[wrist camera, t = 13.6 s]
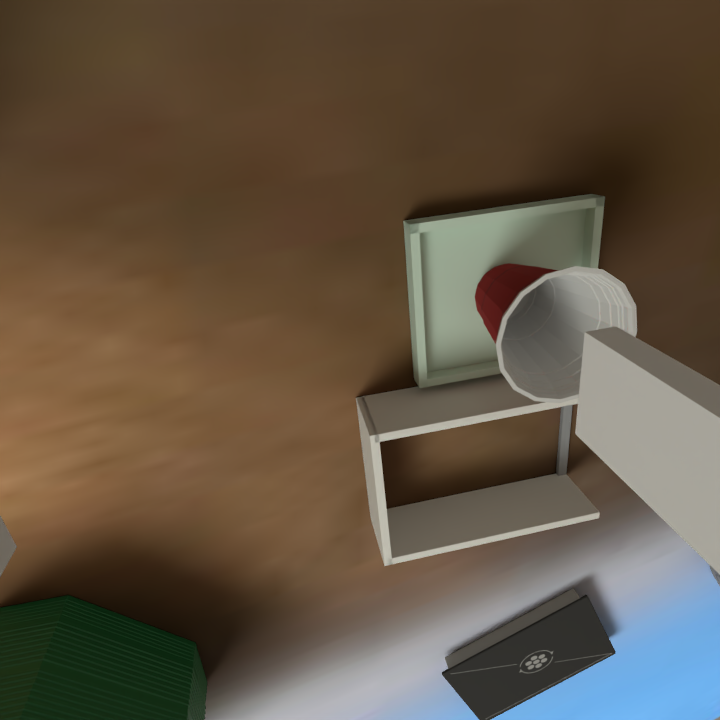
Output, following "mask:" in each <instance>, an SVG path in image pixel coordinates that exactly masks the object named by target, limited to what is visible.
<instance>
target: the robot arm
mask: <svg viewBox="0 0 720 720" xmlns="http://www.w3.org/2000/svg"><path fill="white" fill-rule="evenodd" d="M575 434H576V435H577V436H578V437H579V438H580V439H581V440H582V441H583V442H584V443H585V444H586V445H587V446H588V447H589V448H590V449H591V450H592V451H593V452H594V453H595V454H597V455H598V456H599V457H600V458H601V459H602V460H603V461H604V462H605V463H606V464H607V465H608V466H609V467H610V468H611V469H612V470H613V471H614V472H615V473H616V474H617V475H618V476H619V477H620V478H621V479H622V480H623V481H624V482H625V483H626V484H627V485H628V486H629V487H630V488H631V489H632V490H633V491H634V492H635V493H637V494H638V495H639V496H640V497H641V498H642V499H643V500H644V501H645V502H646V503H647V504H648V505H649V506H650V507H651V508H652V509H653V510H654V511H655V512H656V513H657V514H658V515H659V516H660V517H661V518H662V519H663V520H664V521H665V522H666V523H667V524H668V525H669V526H670V527H671V528H672V529H673V530H674V531H675V532H677V533H678V534H679V535H680V536H681V537H682V538H683V539H684V540H685V541H686V542H687V543H688V544H689V545H690V546H691V547H692V548H693V549H694V550H695V551H696V552H697V553H698V554H699V555H700V556H701V557H702V558H703V559H704V560H705V561H706V562H707V563H708V564H709V565H710V566H711V567H712V568H713V569H714V570H715V571H717V572H718V573H719V574H720V385H718V384H717V383H715V382H713V381H711V380H710V379H708V378H706V377H704V376H703V375H701V374H699V373H697V372H695V371H694V370H692V369H690V368H688V367H687V366H685V365H683V364H681V363H680V362H678V361H676V360H674V359H673V358H671V357H669V356H667V355H666V354H664V353H662V352H660V351H658V350H657V349H655V348H653V347H651V346H650V345H648V344H646V343H644V342H643V341H641V340H639V339H637V338H636V337H634V336H632V335H630V334H629V333H627V332H625V331H623V330H621V329H620V328H618V327H616V326H615V327H609V328H604V329H598V330H593V331H587V332H585V334H584V345H583V356H582V367H581V377H580V388H579V399H578V410H577V420H576V431H575ZM16 548H17V546H16V544H15V543H14V541H13V539H12V537H11V535H10V533H9V531H8V529H7V527H6V526H5V524H4V522H3V520H2V518H1V516H0V576H1V574H2V573H3V571H4V569H5V567H6V565H7V564H8V562H9V560H10V558H11V556H12V555H13V553H14V551H15V549H16Z"/></svg>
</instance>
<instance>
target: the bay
mask: <svg viewBox="0 0 720 720" xmlns="http://www.w3.org/2000/svg"><path fill="white" fill-rule="evenodd" d="M578 399H579V398H577V399H573V400H569V401H566V402H562V403H552V402H540V401H533V400H532V399H530V398H528V397H526V396H524V395H522V394H521V393H519V392H517V391H515V390H513V388H512V387H511V385H510V384H509V383H508V381H507V380H506V378H505V377H504V375H503V374H502V373H501V374H495V375H490V376H484V377H479V378H473V379H468V380H463V381H457V382H452V383H446V384H441V385H435V386H430V387H424V388H419V387H418V386H417V387H412V388H406V389H401V390H395V391H390V392H384V393H379V394H373V395H368V396H362V397H357V398H356V403H357V411H358V419H359V427H360V435H361V443H362V451H363V460H364V468H365V476H366V484H367V492H368V500H369V508H370V517H371V521H372V524H373V528H374V531H375V535H376V538H377V542H378V545H379V548H380V552H381V555H382V559H383V562H384V566H386V565H391V564H395V563H400V562H404V561H409V560H413V559H418V558H422V557H427V556H431V555H436V554H440V553H445V552H449V551H454V550H458V549H463V548H467V547H472V546H476V545H480V544H485V543H489V542H494V541H498V540H503V539H507V538H512V537H516V536H521V535H525V534H530V533H534V532H539V531H543V530H548V529H552V528H557V527H561V526H566V525H570V524H575V523H579V522H584V521H588V520H593V519H597V518H599V514H600V512H599V511H598V510H597V509H596V507H595V506H594V505H593V504H592V503H591V502H590V501H589V500H588V498H587V497H586V496H585V495H584V494H583V493H582V492H581V490H580V489H579V488H578V487H577V486H576V485H575V484H574V483H573V481H572V480H571V479H570V478H569V477H568V476H567V475H566V473H567V461H568V450H569V438H570V427H571V415H572V405H573V404H578ZM557 407H561V415H560V428H559V441H558V454H557V468H556V474H551V475H546V476H541V477H537V478H532V479H527V480H522V481H518V482H513V483H508V484H503V485H499V486H494V487H489V488H484V489H480V490H475V491H470V492H465V493H460V494H456V495H451V496H446V497H441V498H437V499H432V500H427V501H422V502H418V503H413V504H408V505H403V506H399V507H394V508H389V509H387V508H386V499H385V489H384V479H383V470H382V460H381V451H380V442H382V441H387V440H392V439H397V438H402V437H408V436H413V435H418V434H423V433H428V432H433V431H439V430H444V429H449V428H454V427H459V426H464V425H470V424H475V423H480V422H485V421H490V420H495V419H501V418H506V417H511V416H516V415H521V414H526V413H532V412H537V411H542V410H547V409H552V408H557Z"/></svg>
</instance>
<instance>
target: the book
mask: <svg viewBox="0 0 720 720" xmlns="http://www.w3.org/2000/svg"><path fill="white" fill-rule="evenodd" d="M614 654H615V650H614V648H613V646H612V644H611V642H610V640H609V638H608V636H607V634H606V632H605V630H604V628H603V626H602V624H601V622H600V620H599V618H598V616H597V614H596V612H595V610H594V608H593V606H592V604H591V602H590V600H589V598H588V596H587V595H585V596H583V597H581V598H580V597H579V596H578V594H577V593H576V591H575V590H574V589H571V590H569V591H567V592H565V593H564V594H562V595H560V596H558V597H556V598H554V599H552V600H551V601H549V602H547V603H545V604H543V605H541V606H539V607H538V608H536V609H534V610H532V611H530V612H528V613H527V614H525V615H523V616H521V617H519V618H517V619H515V620H514V621H512V622H510V623H508V624H506V625H504V626H502V627H501V628H499V629H497V630H495V631H493V632H491V633H489V634H488V635H486V636H484V637H482V638H480V639H478V640H476V641H475V642H473V643H471V644H469V645H467V646H465V647H464V648H462V649H460V650H458V651H456V652H454V653H452V654H451V655H449V656H447V657H445V660H446V663H447V666H448V669H447V670H445V671H443V672H442V675H443V676H444V677H445V679H446V680H447V681H448V682H449V683H450V685H451V686H452V687H453V688H454V690H455V691H456V692H457V693H458V694H459V696H460V697H461V698H462V699H463V700H464V702H465V703H466V704H467V705H468V706H469V708H470V709H471V710H472V711H473V712H474V714H475V715H476V716H477V717H478V719H479V720H490V719H492V718H494V717H496V716H498V715H500V714H502V713H504V712H506V711H507V710H509V709H511V708H513V707H515V706H517V705H519V704H521V703H523V702H525V701H526V700H528V699H530V698H532V697H534V696H536V695H538V694H540V693H542V692H543V691H545V690H547V689H549V688H551V687H553V686H555V685H557V684H559V683H561V682H562V681H564V680H566V679H568V678H570V677H572V676H574V675H576V674H578V673H579V672H581V671H583V670H585V669H587V668H589V667H591V666H593V665H595V664H596V663H598V662H600V661H602V660H604V659H606V658H608V657H610V656H612V655H614Z"/></svg>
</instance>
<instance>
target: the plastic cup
mask: <svg viewBox="0 0 720 720" xmlns="http://www.w3.org/2000/svg"><path fill="white" fill-rule="evenodd" d="M475 302H476V307H477V311H478V313H479V314H480V316H481V318H482V319H483V323H484V325H485V326H486V328H487V330H488V332H489V334H490V335H491V337H492V339H493V341H494V342H495V344H496V349H497V356H498V362H499V368H500V371H501V373H502V374H503V375H504V377H505V378H506V380H507V381H508V383H509V384H510V385H511V387H512V388H513V390H515V391H517V392H519V393H521V394H522V395H524V396H526V397H528V398H530V399H532V400H533V401H540V402H552V403H562V402H566V401H569V400H573V399H577V398H579V388H580V377H581V367H582V356H583V345H584V334H585V332H587V331H593V330H598V329H604V328H609V327H615V326H616V327H618V328H620V329H621V330H623V331H625V332H627V333H629V334H630V335H632V336H634V337H635V336H636V333H637V317H636V305H635V303H634V301H633V299H632V297H631V295H630V293H629V292H628V290H627V288H626V286H625V284H624V283H622V282H621V281H619V280H618V279H616V278H615V277H613V276H612V275H610V274H609V273H607V272H606V271H604V270H603V269H595V268H587V267H579V266H572V267H568V268H565V269H561V270H553V269H548V268H542V267H536V266H527V265H520V264H511V263H508V264H503V265H499V266H496V267H494V268H492V269H491V270H490V271H488V272H487V273H486V274H484V276H483V277H482V279H481V280H480V282H479V283H478V285H477V289H476V293H475Z"/></svg>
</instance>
